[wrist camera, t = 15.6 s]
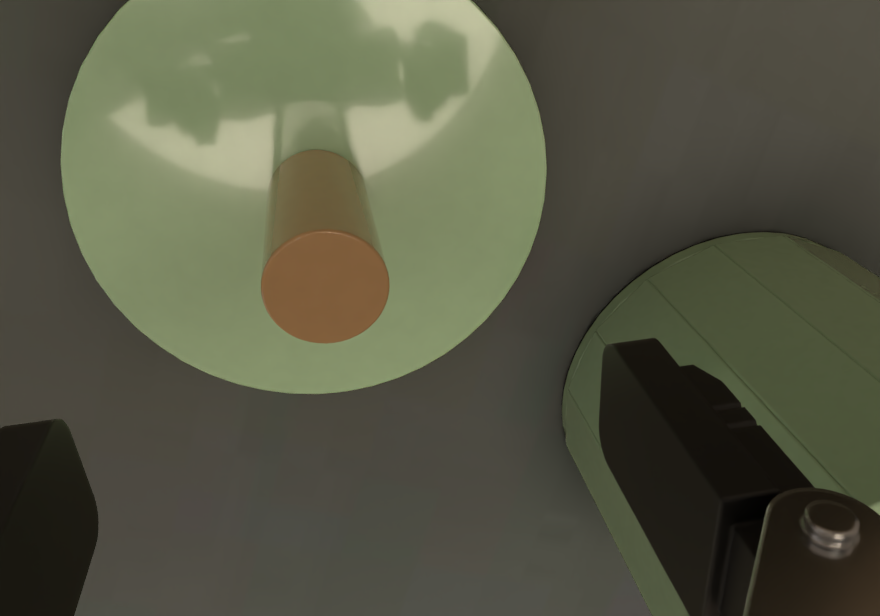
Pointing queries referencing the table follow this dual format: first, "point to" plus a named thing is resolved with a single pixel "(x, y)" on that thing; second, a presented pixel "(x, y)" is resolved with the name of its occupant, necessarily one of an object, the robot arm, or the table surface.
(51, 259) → the table surface
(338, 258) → the lid
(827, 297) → the canister
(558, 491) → the table surface
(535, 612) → the table surface
